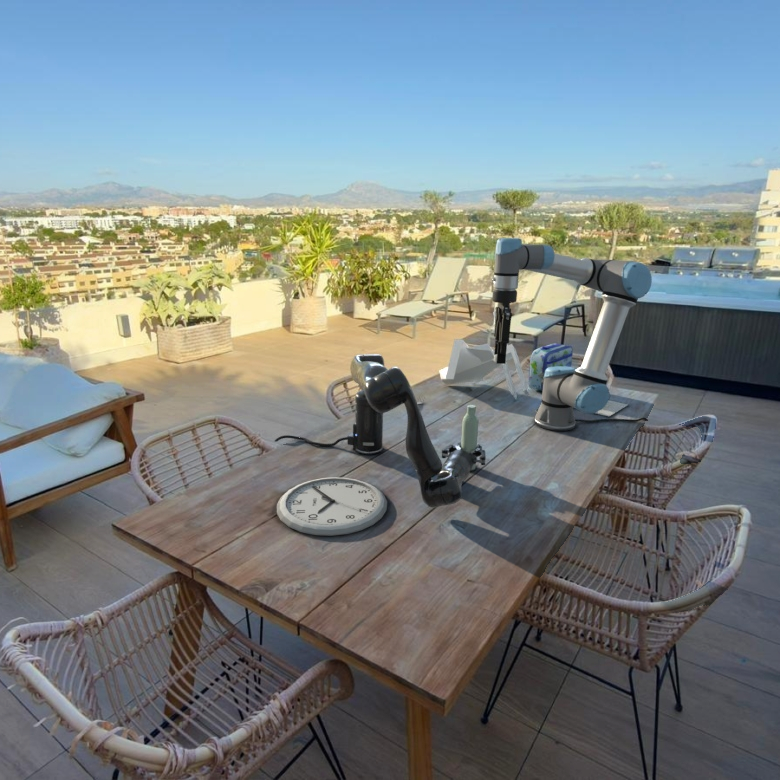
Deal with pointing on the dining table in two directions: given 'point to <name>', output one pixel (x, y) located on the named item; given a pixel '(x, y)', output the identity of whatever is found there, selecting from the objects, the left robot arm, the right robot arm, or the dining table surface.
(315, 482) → the wall clock
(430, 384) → the dining table surface
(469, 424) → the bottle
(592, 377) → the right robot arm
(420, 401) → the fork
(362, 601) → the dining table surface
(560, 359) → the lunch box
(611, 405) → the invitation card
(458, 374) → the white plastic object
